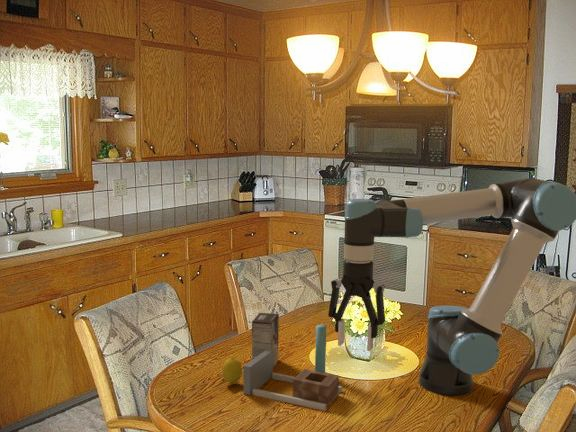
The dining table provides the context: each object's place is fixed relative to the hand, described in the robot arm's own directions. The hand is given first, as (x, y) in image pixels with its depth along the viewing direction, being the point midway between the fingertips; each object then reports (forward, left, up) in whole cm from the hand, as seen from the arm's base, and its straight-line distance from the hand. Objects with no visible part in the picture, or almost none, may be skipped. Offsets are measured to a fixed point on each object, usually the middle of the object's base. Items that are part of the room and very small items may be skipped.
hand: (355, 346), depth 158 cm
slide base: (+17, 0, -17) cm, 24 cm away
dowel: (+15, -14, -17) cm, 27 cm away
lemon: (+36, +1, -17) cm, 40 cm away
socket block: (+11, 0, -16) cm, 19 cm away
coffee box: (+33, -14, -17) cm, 40 cm away
